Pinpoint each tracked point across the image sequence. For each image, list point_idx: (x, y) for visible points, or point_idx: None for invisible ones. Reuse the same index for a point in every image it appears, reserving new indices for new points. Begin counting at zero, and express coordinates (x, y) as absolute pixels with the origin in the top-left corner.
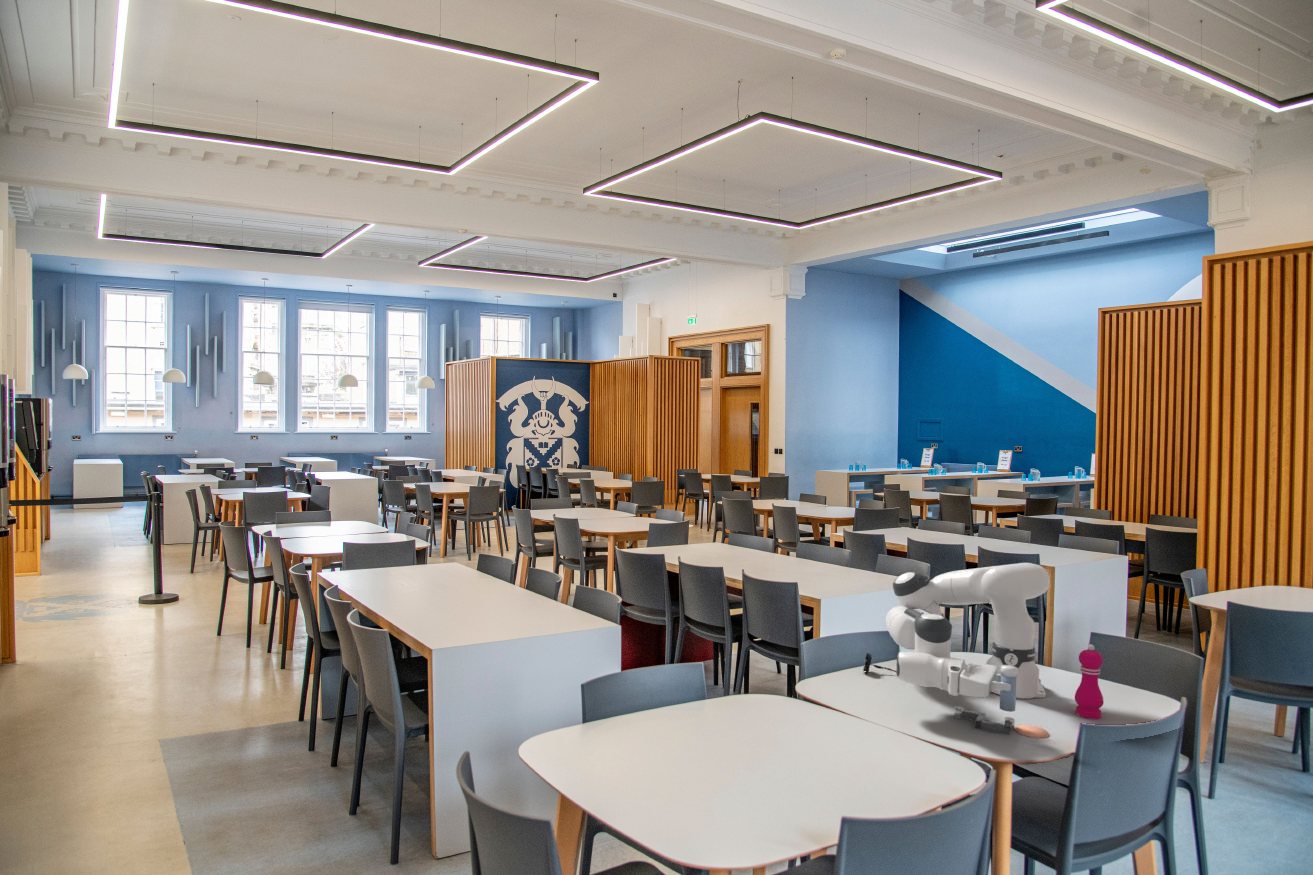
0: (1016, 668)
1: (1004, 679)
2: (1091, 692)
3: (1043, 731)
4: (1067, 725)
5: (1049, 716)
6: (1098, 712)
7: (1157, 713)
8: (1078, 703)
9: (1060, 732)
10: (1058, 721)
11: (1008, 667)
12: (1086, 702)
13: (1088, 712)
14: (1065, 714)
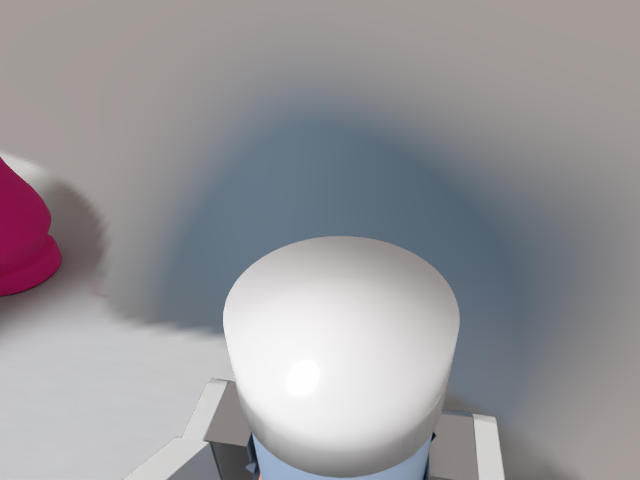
0: (351, 244)
1: (425, 455)
2: (17, 190)
3: None
4: (137, 330)
5: (25, 377)
6: (51, 237)
7: (22, 166)
8: (3, 258)
9: (228, 357)
10: (91, 353)
11: (360, 310)
12: (33, 232)
13: (47, 257)
14: (6, 325)
